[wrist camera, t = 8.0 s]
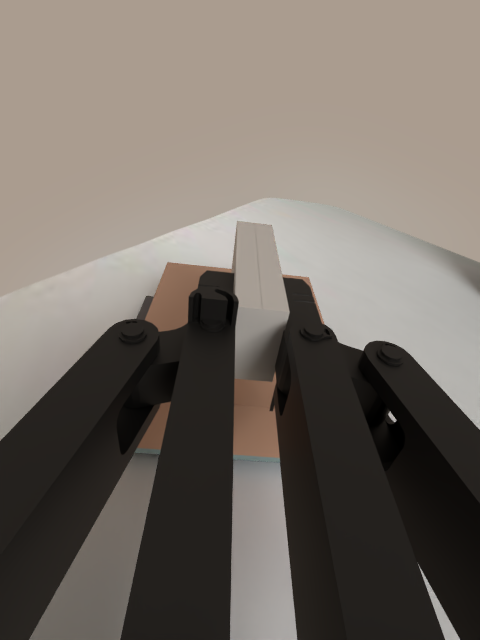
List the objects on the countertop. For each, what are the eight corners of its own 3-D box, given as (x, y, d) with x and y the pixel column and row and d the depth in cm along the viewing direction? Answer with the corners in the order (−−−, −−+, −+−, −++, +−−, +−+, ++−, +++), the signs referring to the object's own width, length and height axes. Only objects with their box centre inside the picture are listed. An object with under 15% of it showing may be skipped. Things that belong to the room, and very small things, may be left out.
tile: (123, 451, 16) (167, 309, 26) (329, 466, 17) (296, 322, 26) (114, 395, 14) (167, 262, 23) (354, 414, 14) (308, 277, 24)
